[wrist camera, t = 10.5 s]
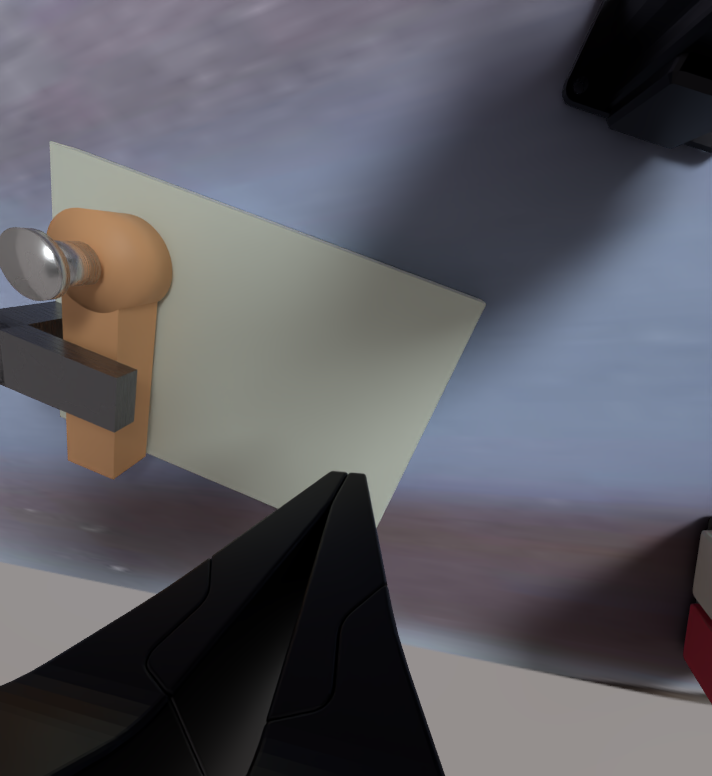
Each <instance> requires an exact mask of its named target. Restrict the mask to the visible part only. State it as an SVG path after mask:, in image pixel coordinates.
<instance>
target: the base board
mask: <svg viewBox="0 0 712 776" xmlns="http://www.w3.org/2000/svg"><path fill="white" fill-rule="evenodd" d="M50 162H51V188H52V215H53V218H54V217H55V216H56V215H57V214H58V213H60V212H61V211H63V210H65V209H69V208H84V209H93V210H101V211H109V212H117V213H126V214H132V215H135V216H137V217H140V218H142V219H143V220H145V221H146V222H148V223H149V224H150V225H151V226H152V227H153V228H154V229H155V230H156V231H157V232H158V233H159V234H160V236H161V237H162V239H163V240H164V242H165V244H166V246H167V249H168V251H169V254H170V257H171V262H172V281H171V285H170V288H169V290H168V292H167V293H166V295H165V296H164V297H163V298H162V299H161V300H160V301H158V302H157V315H156V328H155V341H154V354H153V367H152V380H151V393H150V406H149V419H148V432H147V445H146V453H148V454H150V455H152V456H155V457H157V458H160V459H162V460H164V461H167V462H169V463H171V464H174V465H176V466H178V467H181V468H183V469H185V470H188V471H190V472H193V473H195V474H197V475H200V476H202V477H204V478H207V479H209V480H211V481H214V482H216V483H219V484H221V485H223V486H226V487H228V488H230V489H233V490H235V491H237V492H240V493H242V494H244V495H247V496H249V497H252V498H254V499H256V500H259V501H261V502H263V503H266V504H268V505H270V506H273V507H275V508H277V509H278V508H280V507H281V506H283V505H284V504H285V503H287V502H288V501H290V500H291V499H292V498H294V497H295V496H297V495H298V494H299V493H301V492H302V491H304V490H305V489H306V488H308V487H309V486H311V485H312V484H313V483H315V482H316V481H318V480H319V479H320V478H322V477H323V476H325V475H326V474H327V473H329V472H331V471H341V472H347V473H348V474H349V473H351V472H352V473H364V474H365V475H366V477H367V483H368V488H369V493H370V498H371V503H372V508H373V514H374V519H375V524H376V528H377V526H378V524H379V522H380V520H381V518H382V516H383V514H384V512H385V510H386V508H387V505H388V503H389V501H390V499H391V497H392V495H393V493H394V491H395V489H396V487H397V485H398V483H399V481H400V479H401V477H402V475H403V473H404V471H405V469H406V467H407V465H408V463H409V461H410V459H411V457H412V455H413V452H414V450H415V448H416V446H417V444H418V442H419V440H420V438H421V436H422V434H423V432H424V430H425V428H426V426H427V424H428V422H429V420H430V418H431V416H432V414H433V412H434V410H435V408H436V406H437V404H438V401H439V399H440V397H441V395H442V393H443V391H444V389H445V387H446V385H447V383H448V381H449V379H450V377H451V375H452V373H453V371H454V369H455V367H456V365H457V363H458V361H459V359H460V357H461V355H462V353H463V351H464V348H465V346H466V344H467V342H468V340H469V338H470V336H471V334H472V332H473V330H474V328H475V326H476V324H477V322H478V320H479V318H480V316H481V314H482V312H483V310H484V308H485V306H486V303H485V302H483V301H482V300H481V299H478V298H476V297H473V296H470V295H468V294H465V293H462V292H460V291H457V290H454V289H452V288H449V287H446V286H443V285H441V284H438V283H435V282H433V281H430V280H427V279H425V278H422V277H419V276H417V275H414V274H411V273H409V272H406V271H403V270H401V269H398V268H395V267H393V266H390V265H387V264H385V263H382V262H379V261H377V260H374V259H371V258H369V257H366V256H363V255H361V254H358V253H355V252H352V251H350V250H347V249H344V248H342V247H339V246H336V245H334V244H331V243H328V242H326V241H323V240H320V239H318V238H315V237H312V236H310V235H307V234H304V233H302V232H299V231H296V230H294V229H291V228H288V227H286V226H283V225H280V224H278V223H275V222H272V221H270V220H267V219H264V218H261V217H259V216H256V215H253V214H251V213H248V212H245V211H243V210H240V209H237V208H235V207H232V206H229V205H227V204H224V203H221V202H219V201H216V200H213V199H211V198H208V197H205V196H203V195H200V194H197V193H195V192H192V191H189V190H187V189H184V188H181V187H179V186H176V185H173V184H170V183H168V182H165V181H162V180H160V179H157V178H154V177H152V176H149V175H146V174H144V173H141V172H138V171H136V170H133V169H130V168H128V167H125V166H122V165H120V164H117V163H114V162H112V161H109V160H106V159H104V158H101V157H98V156H96V155H93V154H90V153H88V152H85V151H82V150H79V149H76V148H73V147H69V146H66V145H62V144H59V143H55V142H52V141H50ZM56 302H59V303H61V304H62V298H61V297H60V298H57V299H56ZM60 417H63V418H65V419H66V412H64V411H62V410H60Z"/></svg>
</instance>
